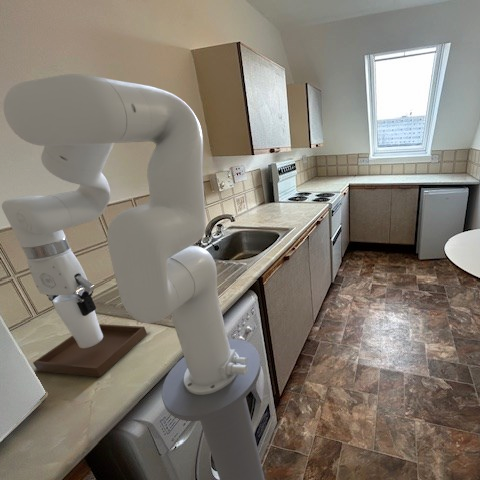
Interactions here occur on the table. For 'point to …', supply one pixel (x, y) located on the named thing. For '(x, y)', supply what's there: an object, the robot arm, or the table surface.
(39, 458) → the table surface
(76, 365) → the tray
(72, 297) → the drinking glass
